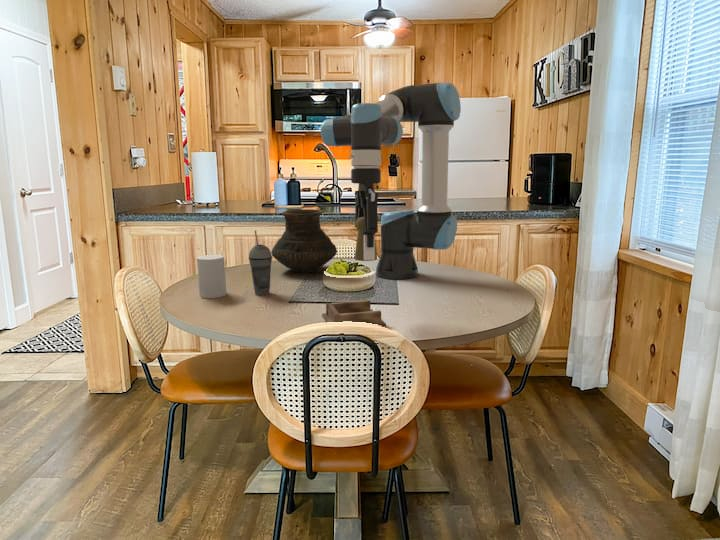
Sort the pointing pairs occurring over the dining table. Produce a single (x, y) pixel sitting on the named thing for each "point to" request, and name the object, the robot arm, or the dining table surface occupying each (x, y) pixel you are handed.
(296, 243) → the ceramic pot
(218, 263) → the grey cylinder
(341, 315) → the brown wooden tray
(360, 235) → the olive tall piece
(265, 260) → the beverage cup
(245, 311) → the dining table surface
